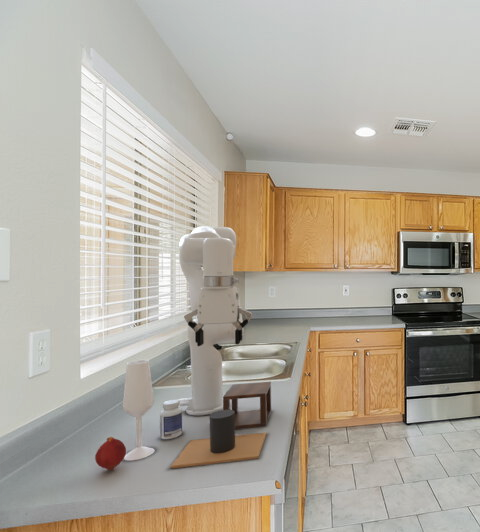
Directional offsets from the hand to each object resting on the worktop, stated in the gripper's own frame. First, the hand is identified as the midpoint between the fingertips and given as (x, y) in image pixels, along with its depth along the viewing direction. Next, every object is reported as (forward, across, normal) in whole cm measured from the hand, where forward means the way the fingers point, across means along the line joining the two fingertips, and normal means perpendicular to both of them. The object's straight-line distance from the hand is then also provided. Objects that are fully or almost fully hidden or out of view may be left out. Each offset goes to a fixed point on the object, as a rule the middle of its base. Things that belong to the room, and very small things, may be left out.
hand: (219, 344), depth 103 cm
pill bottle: (+28, +15, -7) cm, 32 cm away
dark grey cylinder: (+26, -2, +6) cm, 27 cm away
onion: (+27, +22, +10) cm, 36 cm away
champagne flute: (+27, +19, +3) cm, 33 cm away
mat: (+27, -2, +6) cm, 28 cm away
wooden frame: (+27, -5, -13) cm, 31 cm away
